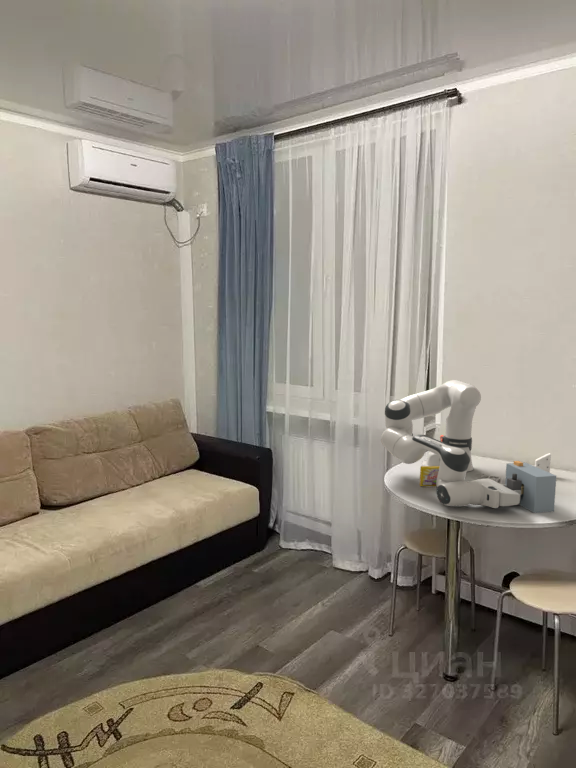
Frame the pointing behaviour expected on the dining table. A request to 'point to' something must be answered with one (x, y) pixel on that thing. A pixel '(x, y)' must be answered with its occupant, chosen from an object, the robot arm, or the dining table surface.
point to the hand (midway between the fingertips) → (515, 489)
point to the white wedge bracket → (544, 462)
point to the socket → (534, 486)
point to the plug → (515, 484)
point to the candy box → (428, 475)
